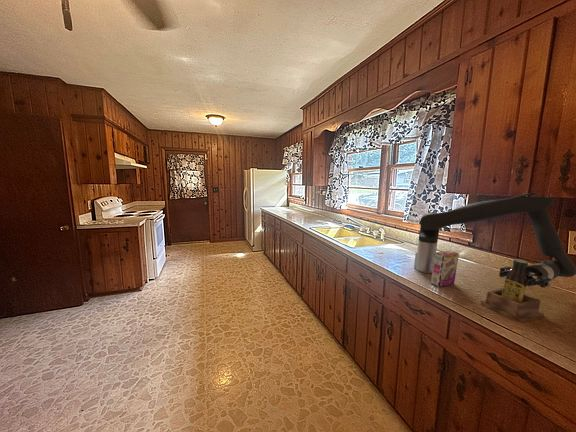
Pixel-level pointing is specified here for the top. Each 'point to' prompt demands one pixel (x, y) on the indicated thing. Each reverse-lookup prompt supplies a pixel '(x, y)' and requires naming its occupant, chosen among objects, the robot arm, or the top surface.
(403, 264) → the top surface
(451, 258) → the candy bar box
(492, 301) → the walnut caddy
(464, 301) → the top surface
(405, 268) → the top surface
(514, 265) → the sauce bottle
